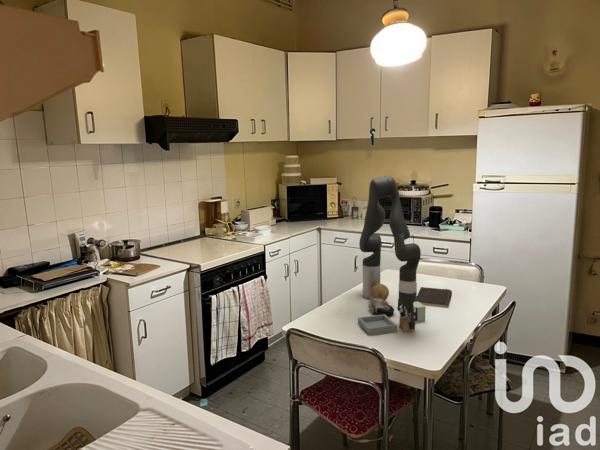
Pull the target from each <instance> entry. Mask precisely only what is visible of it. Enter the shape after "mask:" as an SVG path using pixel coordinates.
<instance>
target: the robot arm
mask: <svg viewBox="0 0 600 450" xmlns="http://www.w3.org/2000/svg"><path fill="white" fill-rule="evenodd" d="M397 185H398V184H397V183H396V180H395V178H394V177H393V176H392V175H385V176H380V177H376V178H372V179H371V181H370V182H369V186H368V187H369V188H368V202H367V207H366V212H365V216H364V222H363V228H362V230H361V231H362V232H361V235H360V236H359V237H360V238H359V242H358V243H359V244H358V245H359V250H360V251H361V252H362V253H371V254H370V255H369V256H366V257H364V258H363V259H362V297H363V298H365V299H368V300H370V298H371V290H372V288H373V287H374V286H375V285H377V284H381V259H382V258H381V257H382V255H381V254H382V253H381V252H382V238H381V235H380V234H376V232H378V231H379V230H380V229H381V228H382V227H383V225H384V223H385V218H386V211H385V209H384V208H383V206H382V205H381V204H380V203H379V201H380V199H383V198H384V199H385V198H388V197H390V200H391V210H390V214H389V218H388V222H389V223H388V225H389V227H390V231H391V233H392V236H393V242H394V254H395V257H396V259H398V261H400V262H406V263H404V264H403V265H401V266H400V267H399V278H398V279H399V280H398V298H397V311H398V312H399V318H400V317H402V316H406V315H407V316H408V318H409V329H410V330H413V329H414V322H415V321H418V312H417V307H414V305H413V303H414V302H415V301H416V300H417V295H418V293H417V291H418V290H417V288H418V285H417V284H418V283H417V271H418V266H419V264H420V260H421V256H422V253H421V248H420V246H419V245H418V244H417V243H415V242H414V243H413V242H412V243H405V241H407V240H408V239H409V238H410V236H411V232H410V230H409V226H408V224H407V222H406V219H405V217H404V213H403V208H402V202H401V198H400V194H399V190H398V186H397ZM405 313H406V314H405ZM409 313H411V314H409ZM410 316H411V317H410ZM415 323H416V322H415Z"/></svg>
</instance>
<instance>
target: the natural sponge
mask: <svg viewBox="0 0 600 450" xmlns="http://www.w3.org/2000/svg"><path fill="white" fill-rule="evenodd" d="M389 294H390V290H389V288H388V286H387V285H385V284H383V283H380V284H377V285H375V286H374V287H373V288H372V290H371V296H372V298H375V299H383V300H385V301H387V299H388V297H389Z"/></svg>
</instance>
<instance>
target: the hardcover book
mask: <svg viewBox="0 0 600 450" xmlns="http://www.w3.org/2000/svg"><path fill="white" fill-rule="evenodd" d="M452 293H453V291H452V290H451V289H447V288H446V289H445V288H436V287H435V288H434V287H425V286H423V287H421V286H420V288H419V291H418V293H417V300H416V301H415V302H420V303H421V304H422V305H424V306H425V307H426V306H427V307H428V306H429V307H436V308H445V309H446V308H447V309H449V305H450V301H451V297H452Z"/></svg>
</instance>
